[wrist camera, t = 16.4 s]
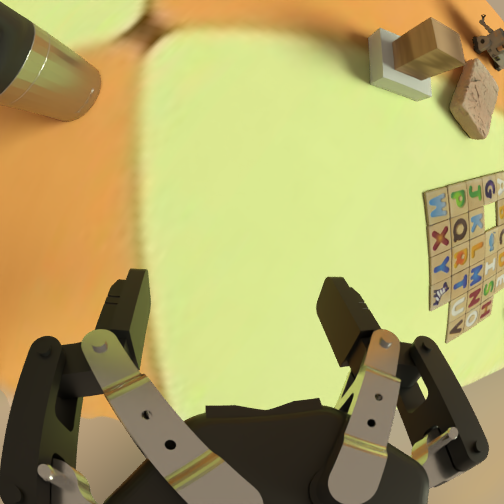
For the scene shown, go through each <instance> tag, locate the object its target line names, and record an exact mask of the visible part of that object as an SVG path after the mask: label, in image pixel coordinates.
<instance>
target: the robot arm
mask: <svg viewBox="0 0 504 504" xmlns="http://www.w3.org/2000/svg"><path fill="white" fill-rule="evenodd" d="M100 87H101V78H100V74H99V72H98V71H97V69H96V68H95V67H93V66H92V65H91V64H89V63H88V62H87V61H85V60H84V59H83V58H82V57H80V56H79V55H78V54H76V53H75V52H74V51H72V50H71V49H69V48H68V47H67V46H65V45H64V44H63V43H61V42H60V41H58V40H57V39H56V38H54V37H53V36H51V35H50V34H49V33H47V32H46V31H44V30H43V29H41V28H40V27H38V26H37V25H35V24H34V23H32V22H31V21H29V20H28V19H26V18H25V17H23V16H21V15H20V14H18V13H17V12H15V11H14V10H12V9H11V8H9V7H8V6H6V5H4V4H3V3H2V2H0V105H2V106H7V107H11V108H15V109H20V110H24V111H28V112H32V113H36V114H40V115H43V116H47V117H50V118H54V119H58V120H61V121H72V120H75V119H77V118H79V117H81V116H82V115H84V114H85V113H86V112H87V111H88V110H89V109H90V108H91V106H92V105H93V104H94V102H95V100H96V99H97V96H98V94H99V91H100ZM150 305H151V298H150V288H149V278H148V270H147V269H130V270H129V273H128V276H127V278H126V280H120V279H118V280H117V281H116V282H115V283H114V284H113V285H112V286H111V288H110V290H109V293H108V297H107V298H106V301H105V304H104V306H103V309H102V311H101V314H100V317H99V319H98V322H97V325H96V328H95V330H94V331H91V332H89V333H88V334H87V335H86V336H85V337H84V338H83V340H82V342H79V343H74V344H67V345H61V344H60V342H59V341H58V340H57V339H56V338H54V337H52V336H44V337H41V338H38V339H37V340H36V341H34V343H33V344H32V345H31V347H30V350H29V352H28V355H27V358H26V361H25V363H24V366H23V369H22V372H21V375H20V378H19V382H18V385H17V388H16V392H15V395H14V399H13V403H12V406H11V411H10V415H9V419H8V424H7V428H6V434H5V439H4V445H3V452H2V458H1V466H0V497H1V499H2V501H3V503H4V504H97V502H96V501H95V500H94V499H93V497H92V495H91V492H90V486H89V483H88V481H87V479H86V478H85V477H84V476H83V475H82V474H81V473H80V472H79V471H77V470H76V454H77V442H78V432H79V424H80V416H81V409H82V402H83V397H85V396H93V395H99V394H104V395H105V397H106V399H107V401H108V402H109V404H110V406H111V407H112V409H113V411H114V412H115V414H116V415H117V417H118V419H119V420H120V422H121V423H122V425H123V426H124V428H125V429H126V431H127V432H128V434H129V435H130V437H131V438H132V440H133V441H134V443H135V444H136V445H137V447H138V448H139V449H140V450H141V452H142V453H143V455H144V456H145V457H146V460H145V461H144V462H143V463H142V464H141V465H140V466H139V467H138V468H137V469H136V470H135V471H134V472H133V473H132V474H131V475H130V476H129V477H128V478H127V479H126V480H125V481H124V482H123V483H122V484H121V486H119V488H117V489H116V490H115V491H114V492H113V493H112V494H111V495H110V496H109V497H108V498H107V499H106V500H105V501H104V503H103V504H427V502H428V493H429V489H430V488H432V487H437V486H439V485H441V484H443V483H445V482H447V481H449V480H451V479H453V478H455V477H457V476H458V475H461V474H462V473H464V472H466V471H467V470H469V469H471V468H473V467H474V466H476V465H478V464H479V463H481V462H482V461H484V460H485V459H486V457H487V455H488V451H489V445H488V442H487V439H486V437H485V435H484V432H483V430H482V428H481V426H480V424H479V422H478V419H477V417H476V415H475V413H474V411H473V409H472V407H471V405H470V403H469V401H468V399H467V397H466V395H465V393H464V391H463V390H462V388H461V386H460V384H459V382H458V380H457V379H456V377H455V375H454V373H453V371H452V370H451V368H450V366H449V364H448V363H447V361H446V359H445V358H444V356H443V354H442V353H441V351H440V349H439V348H438V346H437V345H436V343H435V342H434V341H433V340H432V339H430V338H428V337H426V336H419V337H417V338H416V339H415V341H414V342H413V344H410V343H404V342H400V341H399V339H398V338H397V336H396V335H394V334H393V333H392V332H390V331H388V330H384V329H381V328H380V326H379V324H378V323H377V321H376V320H375V318H374V316H373V315H372V313H371V311H370V310H369V309H368V307H367V305H366V304H365V303H364V300H363V299H362V297H361V296H360V294H359V293H358V292H356V291H355V290H354V289H353V288H352V287H349V286H348V284H347V282H346V281H345V279H344V278H343V277H327V278H326V279H325V281H324V284H323V287H322V290H321V292H320V295H319V298H318V301H317V305H316V310H317V315H318V317H319V319H320V322H321V324H322V326H323V329H324V331H325V333H326V335H327V338H328V340H329V342H330V345H331V347H332V349H333V352H334V354H335V357H336V359H337V361H338V364H339V366H340V367H345V366H350V368H351V370H350V371H349V373H348V375H347V378H346V381H345V383H344V386H343V389H342V391H341V394H340V396H339V399H338V401H337V403H336V405H335V407H334V408H332V407H328V406H323V405H321V402H320V399H319V398H316V399H308V400H300V401H293V402H290V403H287V404H285V405H282V406H279V407H276V408H273V409H270V410H260V409H253V408H247V407H242V406H236V405H230V406H206V413H203V414H199V415H196V416H193V417H191V418H189V419H187V420H185V421H183V420H182V419H181V418H180V417H179V416H178V415H177V413H176V412H175V411H174V410H173V409H172V407H171V406H170V405H169V404H168V402H167V401H166V400H165V399H164V398H163V396H162V395H161V394H160V392H159V391H158V390H157V389H156V387H155V386H154V385H153V383H152V382H151V381H150V379H149V378H148V377H147V376H146V375H145V374H141V373H140V372H139V370H140V364H141V358H142V352H143V346H144V340H145V334H146V329H147V324H148V318H149V313H150ZM420 377H422V379H423V381H424V383H425V385H426V387H427V389H428V397H427V399H426V400H425V398H424V396H423V394H422V392H421V389H420V387H419V385H418V383H417V380H418V379H419V378H420ZM396 405H397V408H398V410H399V413H400V415H401V418H402V420H403V423H404V426H405V428H406V431H407V434H408V436H409V439H410V441H411V444H412V447H413V448H412V455H411V456H408V455H406V454H404V453H403V452H402V451H400V450H399V449H397V448H396V447H394V446H392V445H391V444H389V443H388V439H389V435H390V431H391V427H392V423H393V419H394V414H395V410H396Z"/></svg>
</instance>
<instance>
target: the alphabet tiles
mask: <svg viewBox="0 0 504 504" xmlns="http://www.w3.org/2000/svg"><path fill="white" fill-rule="evenodd" d="M423 194H424V202H425V210H426V219H427V225H428V226H427V235H428V247H429V264H430V311H432V310H434V309H436V308H438V307H440V306H442V305H444V304H446V303H447V302H449V314H448V324H447V333H446V341H445V343H448V342H450V341H451V340H453V339H455V338H456V337H458V336H459V335H461V334H462V333H464V332H466V331H468V330H469V329H471V328H472V327H474V326H475V325H477V323H479V322H481V321H482V320H484V319H485V318H486V317H488V316H489V315H490V314H491V309H492V303H493V295H494V294H495V293H497V292H498V291H500V290H501V289H502V288H504V171H502V172H497V173H494V174H490V175H485V176H481V177H478V178H474V179H470V180H466V181H464V182H459V183H455V184H451V185H447V186H446V187H441V188H437V189H433V190H430V191H426V192H424V193H423ZM495 201H496V226H495V227H493V228H491V229H489V230H487V231H485V222H484V206H483V205H487V204H490V203H493V202H495Z"/></svg>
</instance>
